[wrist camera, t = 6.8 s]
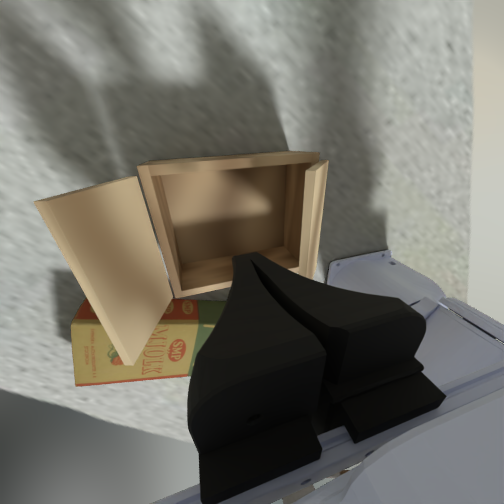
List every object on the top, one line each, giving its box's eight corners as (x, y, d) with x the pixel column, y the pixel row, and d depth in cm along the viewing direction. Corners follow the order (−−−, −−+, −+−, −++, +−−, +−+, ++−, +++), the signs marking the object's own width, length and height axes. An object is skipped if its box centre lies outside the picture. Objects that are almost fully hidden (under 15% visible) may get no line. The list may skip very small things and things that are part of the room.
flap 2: (321, 160, 15) (328, 159, 14) (310, 266, 19) (316, 267, 19) (305, 170, 10) (315, 170, 10) (296, 306, 14) (303, 308, 14)
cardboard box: (289, 150, 19) (319, 152, 15) (286, 247, 24) (308, 270, 19) (149, 160, 16) (136, 166, 12) (177, 267, 21) (175, 298, 17)
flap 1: (47, 201, 7) (33, 201, 7) (133, 365, 11) (124, 365, 11) (136, 176, 12) (128, 176, 12) (172, 296, 16) (166, 296, 16)
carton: (88, 291, 20) (66, 323, 16) (243, 299, 26) (252, 324, 22) (90, 351, 23) (72, 390, 19) (228, 346, 29) (234, 375, 25)
